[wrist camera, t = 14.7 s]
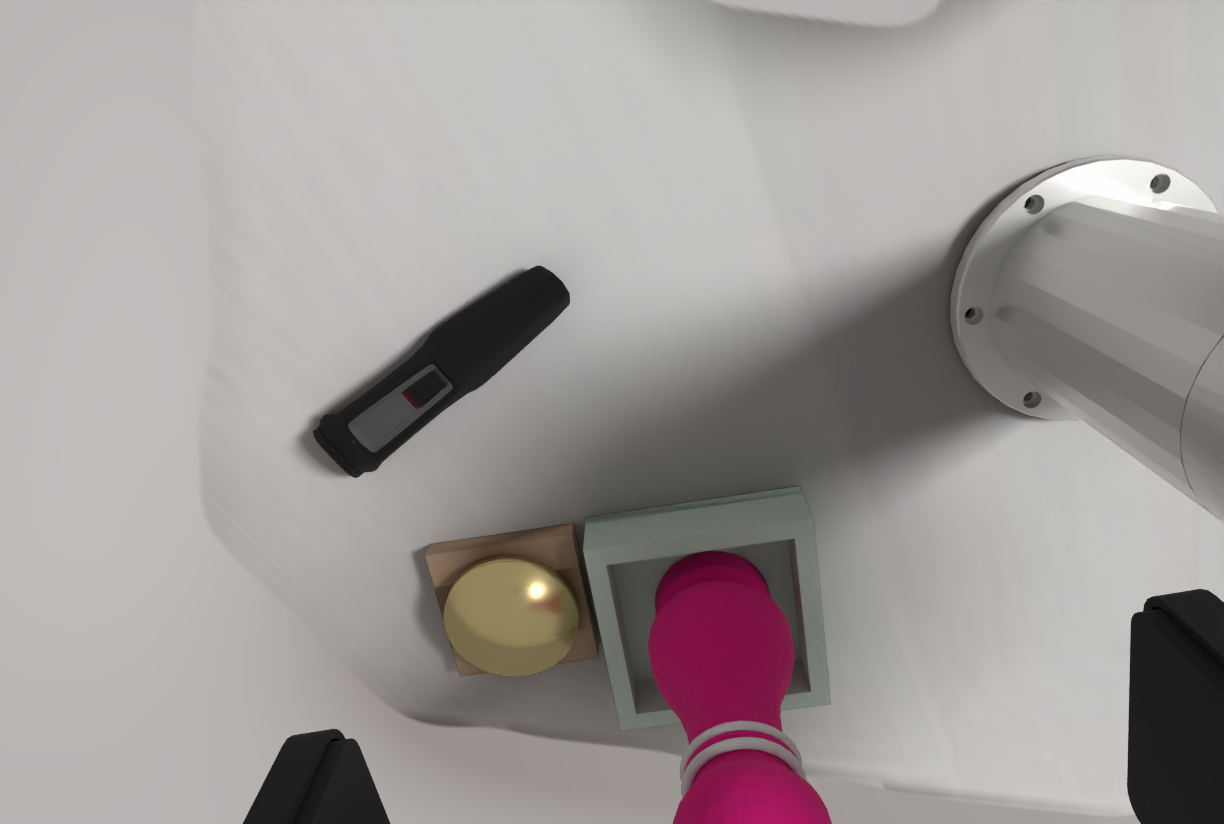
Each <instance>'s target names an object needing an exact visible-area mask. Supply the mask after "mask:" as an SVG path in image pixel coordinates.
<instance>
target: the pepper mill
mask: <svg viewBox="0 0 1224 824" xmlns="http://www.w3.org/2000/svg"><path fill="white" fill-rule="evenodd" d="M655 610H656V617H655V619H654V622H653V624H652V627H651V629H650V634H649V639H648V652H649V659H650V665H651V671H652V674H653V677H654V680H655V682H656V685H657V687H658V689H659V691H660V693H661V695H662V697H663V698H664V700H665V701H666V702H667V704H668V705H669V706H670V708H671V709H672V710H673V711H674V713H675V714H676V715H677V716H678V718H679V719H680V721H681V722H682V724H683V726H684V729H685V731H686V733H687V736H688V742H689V746H688V747H687V749H686V751H685V753H684V755H683V757H682V761H681V765H680V778H681V782H682V784H681V791H682V798H683V799H682V800H681V802H680V804H679V806H678V809H677V812H676V816H675V818H674V821H673V824H832V823H831V820H830V817H829V814H828V811H827V808H826V806H825V805H824V803H823V801H822V799H821V798H820V796H819V795H818V793H817V792H816V791H815V789H813V787H812V786H811V785H810V784H809V783H808V782H807V780H806V775H805V772H804V770H803V767H802V761H801V757H800V753H799V751H798V749H797V747H796V746H795V744H794V743H793V742H792V740H791V739H789V738H788V737H787V736H786V735H785V734H784V733H783V732H782V726H781V719H780V710H781V704H782V701H783V699H784V697H785V694H786V692H787V689H788V687H789V685H790V682H791V677H792V671H793V664H794V646H793V640H792V634H791V630H790V627H789V624H788V622H787V620H786V618H785V616H784V614H783V612H782V611H781V609H780V608H779V607H778V606H777V605H776V603H775V602H774V601H773V600H772V599H771V596H770V592H769V588H768V586H767V583H766V580H765V578H764V577H763V575H762V574H761V573H760V571H759V570H758V568H756V567H755V566H754V565H753V564H752V563H751V562H749V561H748V560H746V559H744V558H742V557H740V556H738V555H735V554H732V553H727V552H722V551H705V552H700V553H696V554H692V555H689V556H687V557H686V558H684V559H682V560H680V561H679V562H677V563H675V564H674V565H673V566H672V567H671V568H670V569H669V570H668V571H667V572H666V573H665V574H664V576H663V577H662V579H661V580H660V582H659V585H658V587H657V591H656V595H655Z"/></svg>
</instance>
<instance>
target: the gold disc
mask: <svg viewBox="0 0 1224 824" xmlns="http://www.w3.org/2000/svg"><path fill="white" fill-rule="evenodd" d="M578 622H579V609H578V603H577V599H576V596H575V594H574V592H573V590H572V588H571V587H570V585H569V584H568V582H567V581H566V580H565V579H564V578H563V577H562V576H561V575H560V574H559V573H558V572H557V571H555V570H554V569H553V568H551V567H550V566H548V565H546V564H544V563H542V562H540V561H537V560H535V559H531V558H527V557H523V556H513V555H505V556H496V557H491V558H488V559H485V560H482V561H480V562H478V563H475V564H474V565H472V566H471V567H469V568H467V569H466V570H465V571H464V572H463V573H462V574H461V575H460V576H459V577H458V578H457V579H456V581H455V582H454V584H453V585H452V587H451V590H450V592H449V595H448V598H447V601H446V604H445V608H444V626H445V631H446V633H447V636H448V639H449V640H450V642H451V644H452V646H453V647H454V648H455V650H456V651H457V652H458V653H459V654H460V655H461V656H462V657H463V658H464V659H465V660H466V661H468V662H469V663H471V664H472V665H474V666H475V667H477V668H479V669H481V670H483V671H486V672H489V673H492V674H496V675H501V676H510V677H519V676H528V675H533V674H536V673H539V672H542V671H544V670H547V669H549V668H550V667H552V666H554V665H555V664H557V663H558V662H559V661H560V660H562V659H563V657H564V656H565V655H566V654H567V653H568V652H569V650H570V649H571V647H572V645H573V643H574V641H575V638H576V635H577V631H578Z"/></svg>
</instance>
